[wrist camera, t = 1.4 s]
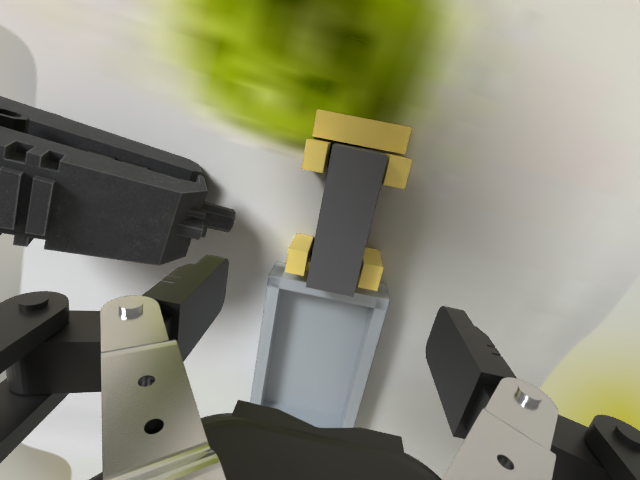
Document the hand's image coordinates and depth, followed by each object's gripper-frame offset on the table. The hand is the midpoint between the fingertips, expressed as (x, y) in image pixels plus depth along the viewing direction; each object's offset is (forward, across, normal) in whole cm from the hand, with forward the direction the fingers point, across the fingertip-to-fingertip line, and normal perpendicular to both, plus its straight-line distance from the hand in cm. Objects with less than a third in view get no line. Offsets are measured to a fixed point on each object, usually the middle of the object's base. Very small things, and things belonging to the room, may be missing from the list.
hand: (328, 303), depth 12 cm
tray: (+16, -1, +14) cm, 21 cm away
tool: (+16, +18, 0) cm, 24 cm away
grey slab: (+16, 0, 0) cm, 16 cm away
